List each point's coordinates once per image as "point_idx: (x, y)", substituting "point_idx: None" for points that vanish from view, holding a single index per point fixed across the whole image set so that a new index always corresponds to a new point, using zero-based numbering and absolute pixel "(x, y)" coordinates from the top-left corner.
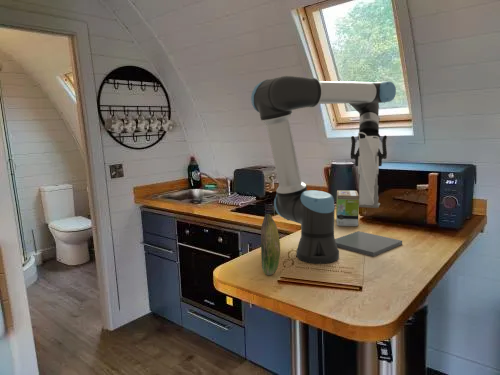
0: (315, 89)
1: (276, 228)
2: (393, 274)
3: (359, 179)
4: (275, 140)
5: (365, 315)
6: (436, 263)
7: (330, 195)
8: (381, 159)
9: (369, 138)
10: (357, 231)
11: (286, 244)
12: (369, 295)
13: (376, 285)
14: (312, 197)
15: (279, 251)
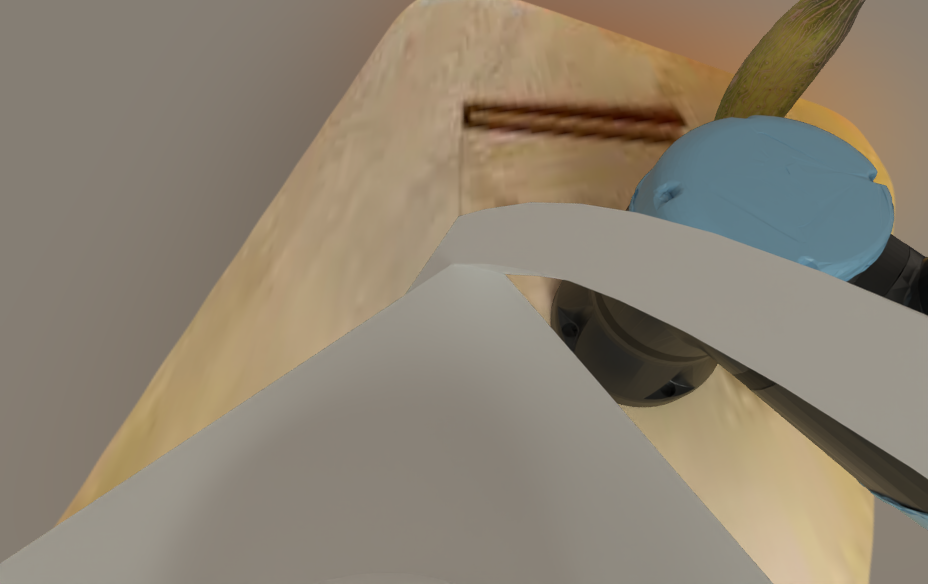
0: None
1: (784, 23)
2: (370, 214)
3: None
4: None
5: (454, 13)
6: (200, 336)
7: (690, 197)
8: None
9: (352, 573)
10: None
11: (811, 462)
12: (444, 86)
13: (425, 137)
14: (774, 120)
15: (729, 92)
